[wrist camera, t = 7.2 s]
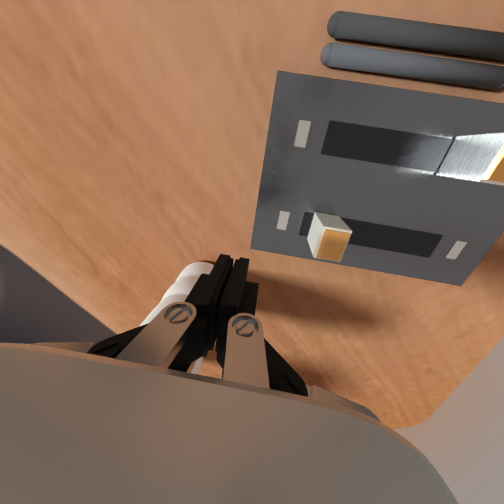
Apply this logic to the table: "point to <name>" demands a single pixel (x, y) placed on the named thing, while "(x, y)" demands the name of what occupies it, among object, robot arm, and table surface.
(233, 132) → the table surface
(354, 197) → the slider control panel
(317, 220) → the lever
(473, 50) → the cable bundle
